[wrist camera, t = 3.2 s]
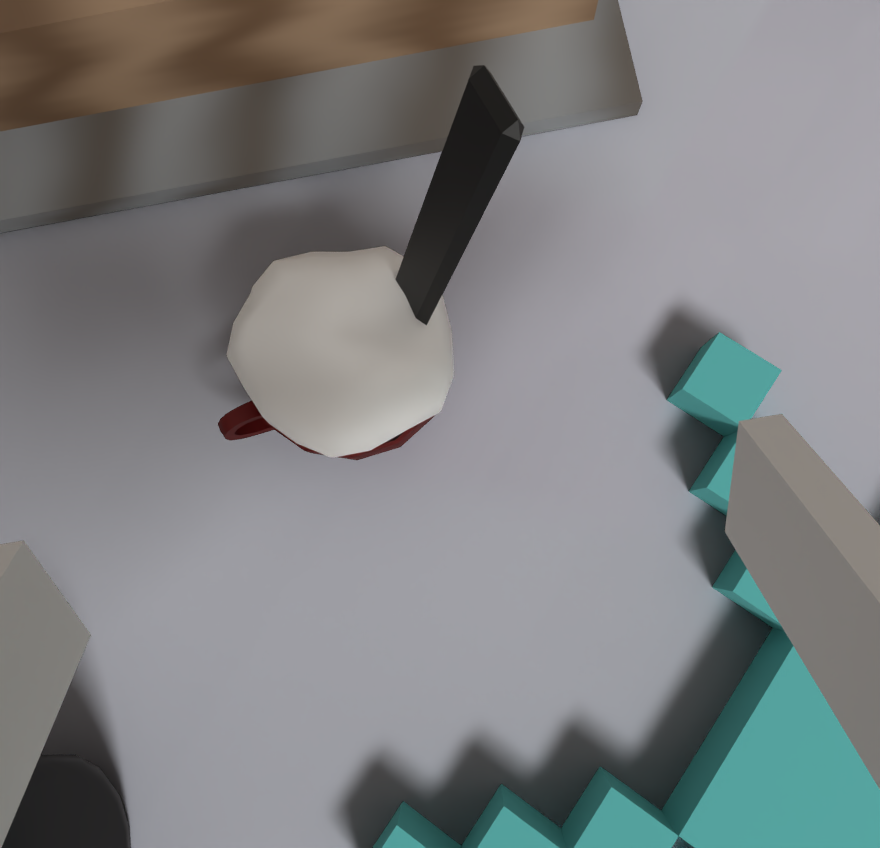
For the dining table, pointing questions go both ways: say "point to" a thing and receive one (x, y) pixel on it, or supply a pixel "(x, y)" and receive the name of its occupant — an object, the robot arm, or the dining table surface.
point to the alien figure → (738, 726)
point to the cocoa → (371, 310)
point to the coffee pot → (68, 808)
